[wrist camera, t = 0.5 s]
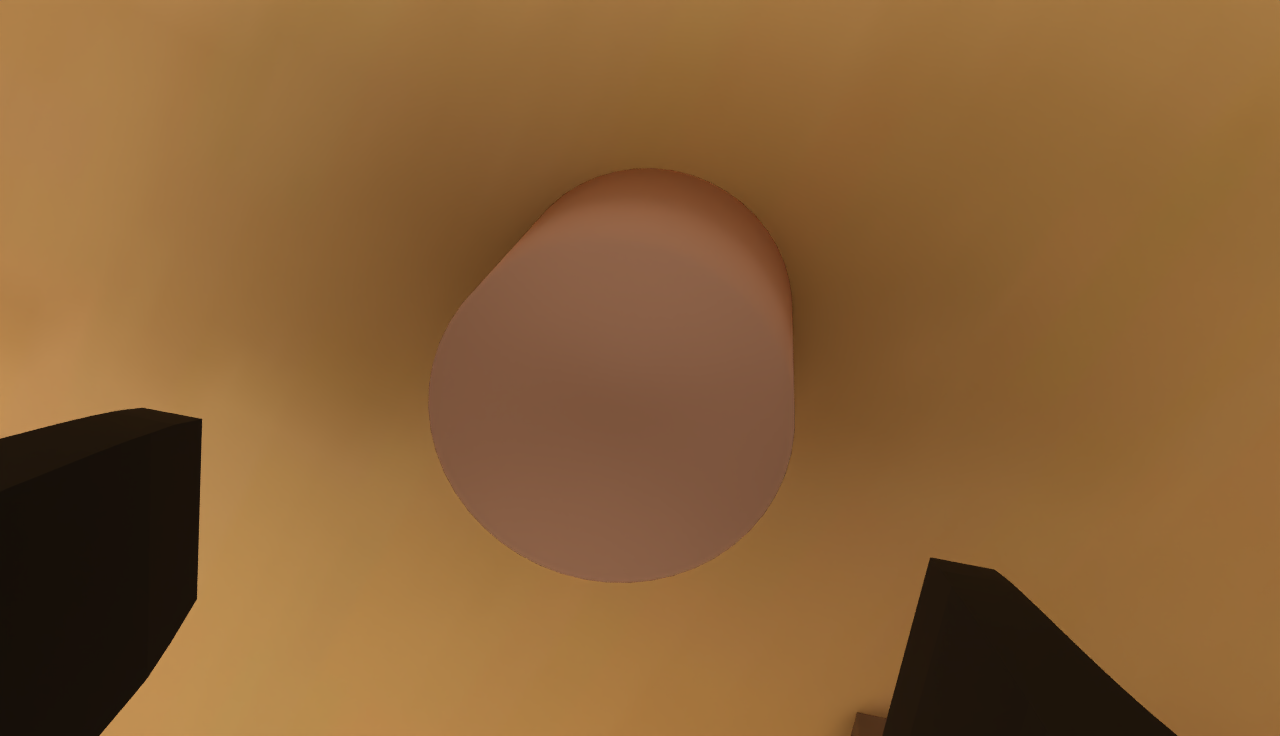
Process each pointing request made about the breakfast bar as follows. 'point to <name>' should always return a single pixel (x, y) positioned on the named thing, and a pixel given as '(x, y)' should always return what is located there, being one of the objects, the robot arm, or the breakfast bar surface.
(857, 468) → the breakfast bar surface
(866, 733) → the walnut slab
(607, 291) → the salmon cylinder
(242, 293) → the breakfast bar surface
